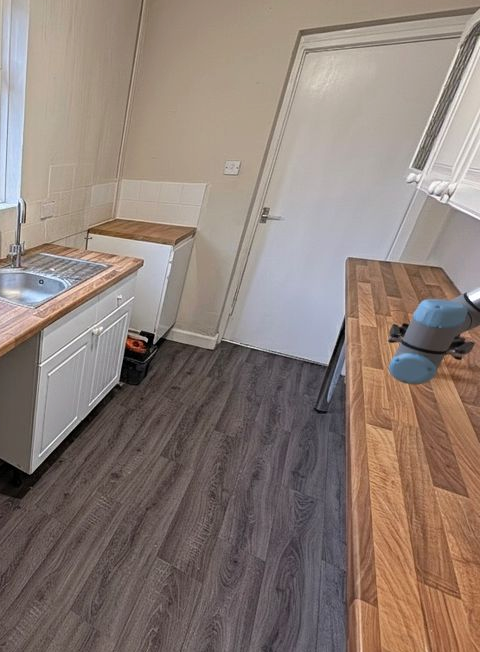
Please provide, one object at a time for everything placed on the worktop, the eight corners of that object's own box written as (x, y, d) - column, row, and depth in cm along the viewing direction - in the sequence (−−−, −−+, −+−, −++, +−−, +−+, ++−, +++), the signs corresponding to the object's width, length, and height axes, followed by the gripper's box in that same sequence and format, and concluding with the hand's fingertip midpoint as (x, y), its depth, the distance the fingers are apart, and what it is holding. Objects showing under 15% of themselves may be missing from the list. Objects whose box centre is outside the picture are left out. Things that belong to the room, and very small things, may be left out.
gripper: (360, 350, 113) (379, 330, 126) (476, 383, 98) (483, 355, 111) (371, 325, 110) (389, 307, 123) (492, 355, 95) (498, 330, 108)
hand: (434, 330), depth 117 cm, fingers closed on cupcake, 8 cm apart
